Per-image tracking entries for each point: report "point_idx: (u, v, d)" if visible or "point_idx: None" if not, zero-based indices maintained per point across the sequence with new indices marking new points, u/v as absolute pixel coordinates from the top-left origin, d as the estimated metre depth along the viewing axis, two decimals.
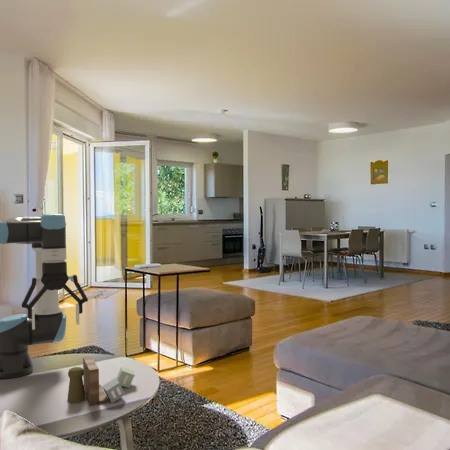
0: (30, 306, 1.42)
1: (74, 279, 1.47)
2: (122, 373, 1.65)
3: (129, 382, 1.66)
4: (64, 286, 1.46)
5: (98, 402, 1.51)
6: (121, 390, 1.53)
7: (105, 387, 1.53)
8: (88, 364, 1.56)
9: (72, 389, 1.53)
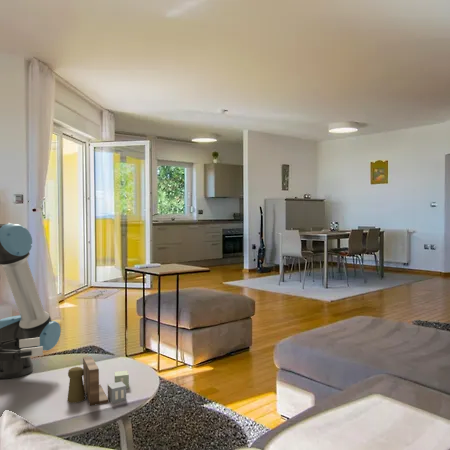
0: None
1: None
2: (116, 378, 1.64)
3: (127, 383, 1.65)
4: None
5: (98, 402, 1.51)
6: (124, 394, 1.54)
7: (111, 386, 1.54)
8: (88, 364, 1.56)
9: (72, 389, 1.53)
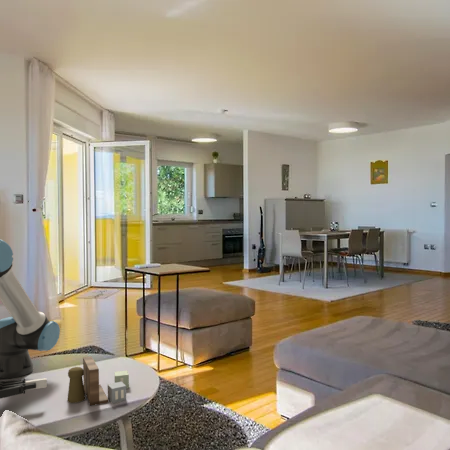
0: None
1: None
2: (116, 378, 1.64)
3: (127, 383, 1.65)
4: None
5: (98, 402, 1.51)
6: (124, 394, 1.54)
7: (111, 386, 1.54)
8: (88, 364, 1.56)
9: (72, 389, 1.53)
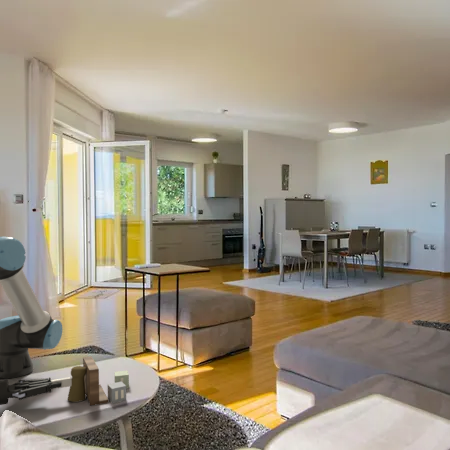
0: None
1: None
2: (116, 378, 1.64)
3: (127, 383, 1.65)
4: None
5: (98, 402, 1.51)
6: (124, 394, 1.54)
7: (111, 386, 1.54)
8: (88, 364, 1.56)
9: (73, 387, 1.53)
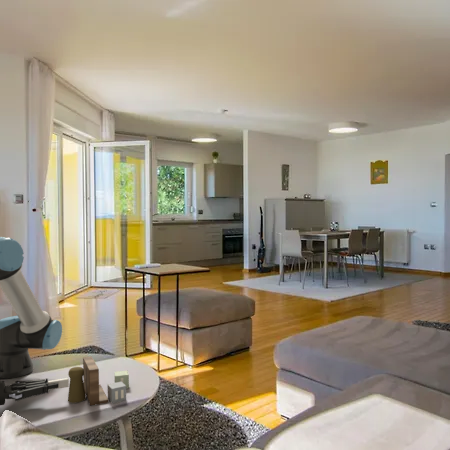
0: None
1: None
2: (116, 378, 1.64)
3: (127, 383, 1.65)
4: None
5: (98, 402, 1.51)
6: (124, 394, 1.54)
7: (110, 386, 1.54)
8: (88, 364, 1.56)
9: (72, 389, 1.53)
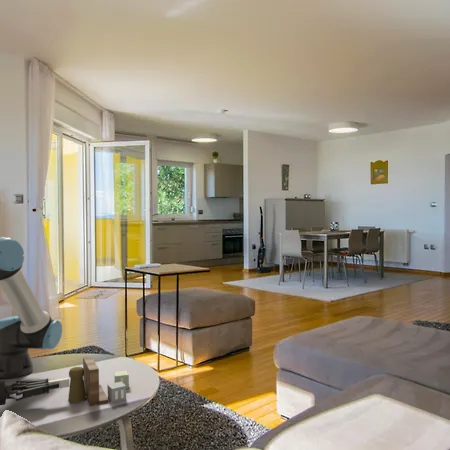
0: None
1: None
2: (116, 378, 1.64)
3: (127, 383, 1.65)
4: None
5: (98, 402, 1.51)
6: (124, 394, 1.54)
7: (110, 386, 1.54)
8: (88, 364, 1.56)
9: (73, 389, 1.53)
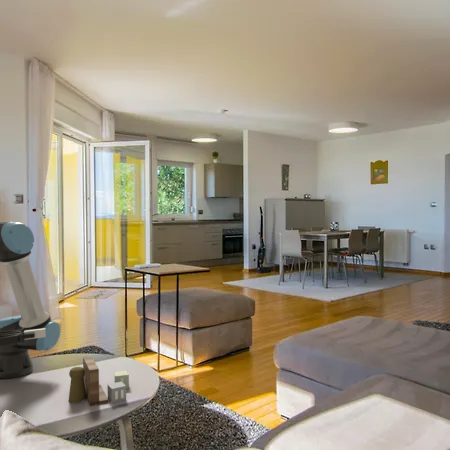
0: None
1: None
2: (116, 378, 1.64)
3: (127, 383, 1.65)
4: None
5: (98, 402, 1.51)
6: (124, 394, 1.54)
7: (110, 386, 1.54)
8: (88, 364, 1.56)
9: (73, 389, 1.53)
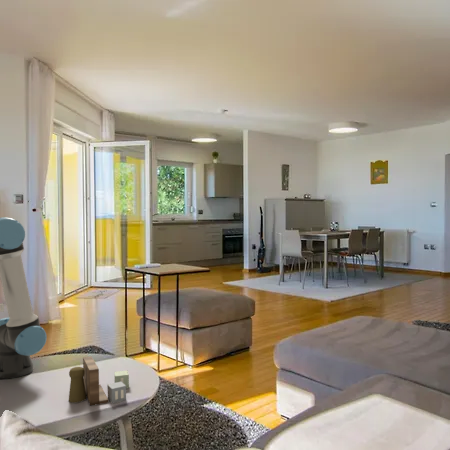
0: None
1: None
2: (116, 378, 1.64)
3: (127, 383, 1.65)
4: None
5: (98, 402, 1.51)
6: (124, 394, 1.54)
7: (110, 386, 1.54)
8: (88, 364, 1.56)
9: (73, 389, 1.53)
